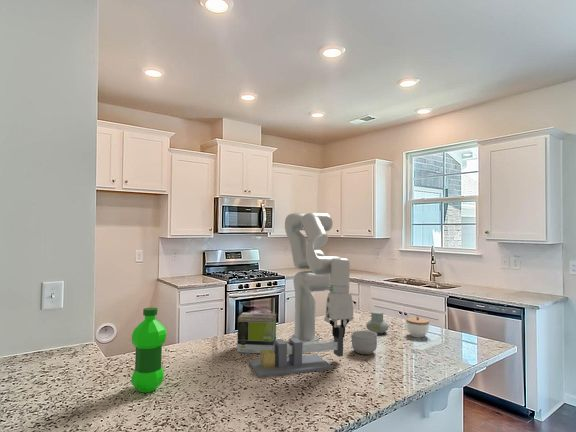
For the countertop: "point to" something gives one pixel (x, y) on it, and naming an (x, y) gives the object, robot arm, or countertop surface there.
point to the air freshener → (377, 323)
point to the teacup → (364, 341)
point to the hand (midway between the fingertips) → (338, 336)
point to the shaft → (322, 345)
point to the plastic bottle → (148, 352)
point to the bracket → (290, 361)
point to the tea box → (256, 332)
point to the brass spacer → (267, 359)
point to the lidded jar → (417, 326)
